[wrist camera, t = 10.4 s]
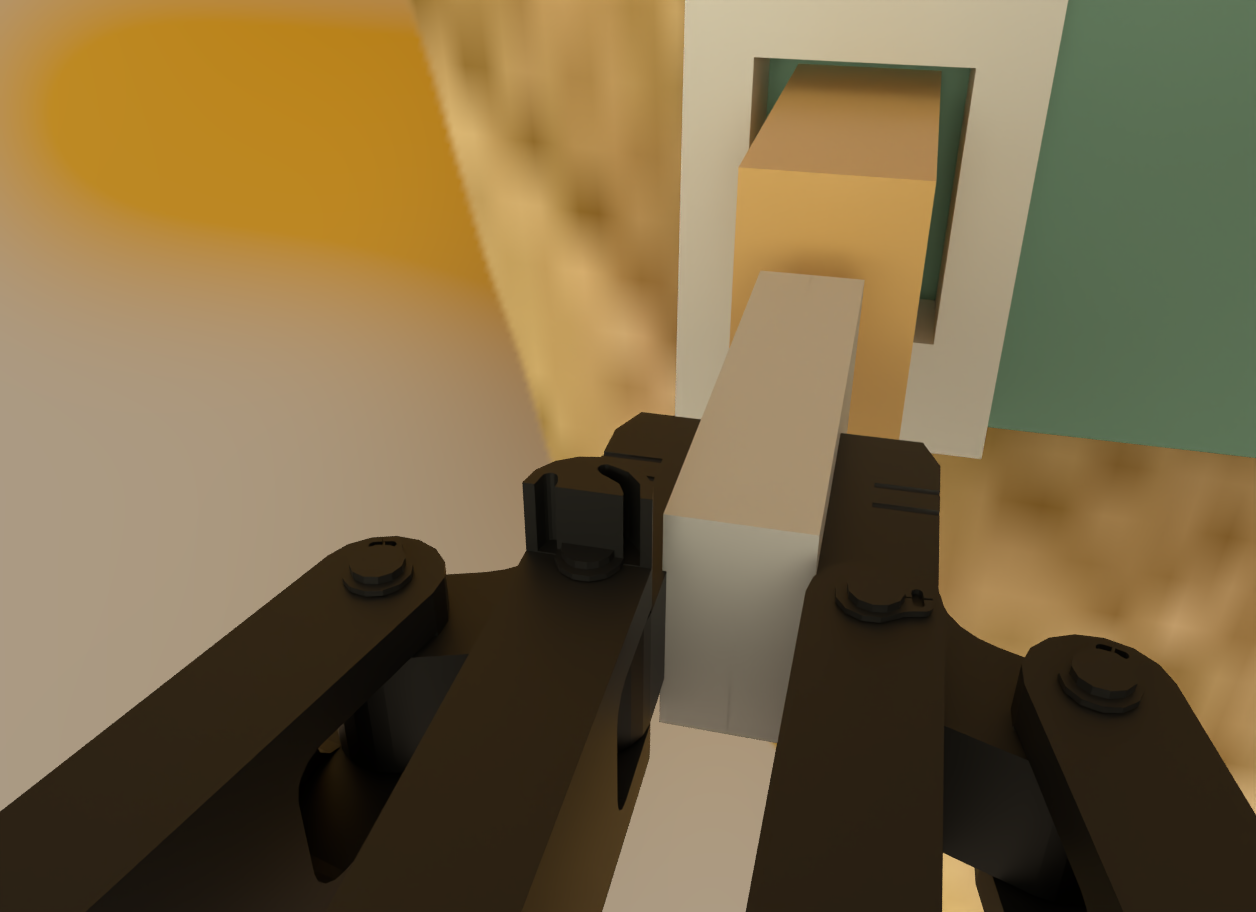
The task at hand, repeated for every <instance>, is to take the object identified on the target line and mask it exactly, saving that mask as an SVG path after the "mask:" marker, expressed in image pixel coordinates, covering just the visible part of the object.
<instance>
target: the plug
mask: <svg viewBox="0 0 1256 912" xmlns="http://www.w3.org/2000/svg"><path fill="white" fill-rule="evenodd" d="M940 93H941V71H934V70H914V69H895V68H875V67H855V66H836V65H816V64H798V65H797V67H796V69H795V71H794V72H793V74H792V76H791V77H790V79H789V81H788V83H787V84H786V86H785V88H784V90H783V91H782V93H781V95H780V96H779V98H778V100H777V102H776V103H775V105H774V107H773V109H772V110H771V112H770V114H769V115H768V117H767V119H766V121H765V122H764V124H763V126H762V128H761V129H760V131H759V133H758V134H757V136H756V138H755V140H754V141H753V143H752V145H751V146H750V148H749V150H748V152H747V153H746V155H745V157H744V159H743V160H742V162H741V164H740V165H739V167H738V186H737V205H736V225H735V244H734V264H733V283H732V303H731V322H730V342H729V348H730V346H731V343H732V341H733V338H734V336H735V333H736V331H737V328H738V326H739V323H740V321H741V318H742V316H743V313H744V311H745V308H746V306H747V303H748V301H749V298H750V295H751V293H752V290H753V288H754V285H755V283H756V280H757V278H758V275H759V273H760V270H761V271H772V272H783V273H794V274H805V275H817V276H828V277H839V278H850V279H861V280H865V281H864V290H863V299H862V307H861V316H860V325H859V333H858V342H857V350H856V359H855V368H854V376H853V385H852V394H851V402H850V411H849V420H848V428H847V434H854V435H863V436H871V437H880V438H888V439H897V440H899V437H900V430H901V423H902V416H903V409H904V402H905V395H906V389H907V382H908V375H909V368H910V361H911V354H912V347H913V340H914V333H915V326H916V319H917V312H918V305H919V298H920V291H921V285H922V278H923V271H924V264H925V257H926V250H927V243H928V236H929V229H930V222H931V215H932V208H933V201H934V194H935V187H936V179H937V157H938V136H939V114H940Z"/></svg>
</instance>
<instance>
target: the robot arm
mask: <svg viewBox="0 0 1256 912" xmlns="http://www.w3.org/2000/svg"><path fill="white" fill-rule="evenodd" d="M864 281H865V280H861V279H850V278H839V277H828V276H817V275H805V274H794V273H783V272H772V271H761V270H760V273H759V275H758V278H757V280H756V283H755V285H754V288H753V290H752V293H751V295H750V298H749V301H748V303H747V306H746V308H745V311H744V313H743V316H742V318H741V321H740V323H739V326H738V328H737V331H736V333H735V336H734V338H733V341H732V343H731V346H730V348H729V351H728V353H727V356H726V358H725V361H724V363H723V366H722V368H721V371H720V373H719V376H718V378H717V381H716V383H715V386H714V388H713V391H712V393H711V396H710V398H709V401H708V403H707V406H706V408H705V411H704V413H703V416H702V418H701V419H694V418H686V417H678V416H669V415H661V414H652V413H644V412H641V413H640V414H638V415H637V416H635V417H634V418H632V419H631V420H629V421H628V422H626V423H625V424H623V425H622V426H620V427H619V428H617V429H616V430H615V432H614V434H613V436H612V438H611V439H610V441H609V443H608V445H607V447H606V449H605V451H604V456H602V457H575V458H570V459H564V460H559V461H554V462H552V463H550V464H548V465H545V466H543V467H541V468H539V469H536V470H535V471H534V472H533V473H532V474H531V475H530V476H529V477H528V478H527V479H525V481H523V500H524V517H525V534H526V552H525V554H524V556H523V558H522V559H521V561H520V563H519V565H518V566H516V567H512V568H509V569H505V570H498V571H491V572H482V573H466V574H449V575H446V568H445V562H444V560H443V559H442V557H441V556H440V554H439V553H438V551H437V550H436V549H435V548H433V547H431V546H429V545H427V544H426V543H423V542H422V541H420V540H416V539H410V538H405V537H399V536H390V537H374V538H369V539H365V540H362V541H358V542H355V543H351V544H348V545H346V546H344V547H342V548H341V549H339V550H337V551H335V552H334V553H332V554H330V555H328V556H327V557H326V558H324V559H323V560H322V561H320V562H319V563H318V564H317V565H315V566H314V567H313V568H311V569H310V570H309V571H308V572H306V573H305V574H304V575H302V576H301V577H300V578H299V579H297V580H296V581H295V582H293V583H292V584H291V585H290V586H288V587H287V588H286V589H285V590H283V591H282V592H281V593H279V594H278V595H277V596H276V597H274V598H273V599H272V600H270V602H268V603H267V604H265V605H264V606H263V607H262V608H260V609H259V610H258V611H256V612H255V613H254V614H253V615H251V616H250V617H249V618H247V619H246V620H245V621H244V622H242V623H241V624H240V625H239V626H237V627H236V628H235V629H234V630H232V631H231V632H229V633H228V634H227V635H226V636H224V637H223V638H222V639H221V640H219V641H218V642H217V643H215V644H214V645H213V646H212V647H210V648H209V649H208V650H206V651H205V652H204V653H203V654H202V655H200V656H199V657H197V658H196V659H195V660H194V661H193V662H191V663H190V664H189V665H188V666H186V667H185V668H184V669H182V670H181V671H180V672H178V673H177V674H176V675H174V676H173V677H172V678H171V679H169V680H168V681H167V682H165V683H164V684H163V685H162V686H160V687H159V688H158V689H157V690H155V691H154V692H153V693H151V694H150V695H149V696H148V697H146V698H145V699H144V700H143V701H141V702H140V703H139V704H137V705H136V706H135V707H134V708H132V709H131V710H130V711H129V712H127V713H126V714H125V715H123V716H122V717H121V718H119V719H118V720H117V721H116V722H115V723H113V724H112V725H111V726H109V727H108V728H107V729H106V730H104V731H103V732H102V733H100V734H99V735H98V736H96V737H95V738H94V739H93V740H91V741H90V742H89V743H87V744H86V745H85V746H84V747H82V748H81V749H80V750H78V751H77V752H76V753H75V754H73V755H72V756H71V757H69V758H68V759H67V760H66V761H64V762H63V763H62V764H61V765H59V766H58V767H57V768H55V769H54V770H53V771H52V772H50V773H49V774H48V775H47V776H45V777H44V778H43V779H42V780H40V781H39V782H38V783H36V784H35V785H34V786H32V787H31V788H30V789H29V790H27V791H26V792H25V793H23V794H22V795H21V796H20V797H18V798H17V799H16V800H14V801H13V802H12V803H11V804H9V805H8V806H7V807H5V808H4V809H3V810H2V811H0V912H602V910H603V907H604V904H605V900H606V897H607V894H608V891H609V887H610V884H611V881H612V878H613V875H614V871H615V868H616V865H617V862H618V858H619V855H620V852H621V849H622V845H623V842H624V839H625V836H626V832H627V829H628V826H629V823H630V819H631V816H632V813H633V810H634V806H635V803H636V800H637V797H638V793H639V790H640V787H641V784H642V780H643V777H644V774H645V771H646V767H647V764H648V761H649V755H650V721H651V718H652V715H653V712H654V709H655V705H656V703H657V699H658V696H659V693H660V719H659V720H660V721H659V722H662V723H668V724H674V725H679V726H685V727H691V728H696V729H702V730H707V731H712V732H718V733H724V734H729V735H735V736H741V737H746V738H752V739H757V740H763V741H769V742H774V743H777V747H776V752H775V758H774V763H773V768H772V774H771V779H770V785H769V790H768V795H767V801H766V807H765V811H764V817H763V822H762V828H761V833H760V838H759V844H758V849H757V854H756V860H755V865H754V870H753V876H752V881H751V887H750V892H749V897H748V903H747V908H746V912H942V869H943V853H945V854H947V855H949V856H951V857H953V858H955V859H958V860H960V861H962V862H964V863H966V864H968V865H970V866H972V867H974V868H975V881H976V887H977V890H978V893H979V896H980V900H981V903H982V906H983V909H984V912H1256V814H1255V813H1254V811H1253V809H1252V808H1251V806H1250V805H1249V803H1248V801H1247V800H1246V798H1245V796H1244V795H1243V793H1242V791H1241V790H1240V788H1239V786H1238V785H1237V783H1236V781H1235V780H1234V778H1233V776H1232V775H1231V773H1230V771H1229V770H1228V768H1227V767H1226V765H1225V763H1224V762H1223V760H1222V758H1221V757H1220V755H1219V753H1218V752H1217V750H1216V748H1215V747H1214V745H1213V743H1212V742H1211V740H1210V738H1209V737H1208V735H1207V733H1206V732H1205V730H1204V729H1203V727H1202V725H1201V724H1200V722H1199V720H1198V719H1197V717H1196V715H1195V714H1194V712H1193V710H1192V709H1191V707H1190V705H1189V704H1188V702H1187V700H1186V699H1185V697H1184V695H1183V694H1182V692H1181V691H1180V689H1179V687H1178V686H1177V684H1176V683H1175V682H1174V681H1173V680H1172V678H1171V677H1170V676H1169V675H1168V674H1167V673H1166V672H1165V671H1164V669H1163V668H1162V667H1161V666H1160V665H1159V664H1157V663H1156V662H1154V661H1153V660H1151V659H1150V658H1148V657H1146V656H1145V655H1143V654H1142V653H1140V652H1138V651H1137V650H1135V649H1134V648H1131V647H1128V646H1125V645H1122V644H1120V643H1117V642H1114V641H1111V640H1108V639H1105V638H1100V637H1092V636H1084V635H1076V634H1074V635H1067V636H1059V637H1052V638H1048V639H1046V640H1044V641H1042V642H1040V643H1039V644H1037V645H1035V646H1033V647H1031V648H1030V649H1029V651H1028V653H1027V655H1026V657H1022V656H1019V655H1017V654H1014V653H1011V652H1008V651H1006V650H1003V649H1000V648H998V647H996V646H994V645H991V644H989V643H987V642H985V641H983V640H980V639H978V638H977V637H975V636H974V635H972V634H971V633H969V632H968V631H966V630H965V629H963V628H962V627H961V626H960V625H959V624H958V623H957V622H956V621H955V620H954V619H953V618H952V617H951V616H950V615H949V614H948V613H947V611H946V609H945V608H944V606H943V602H942V599H941V596H940V594H939V589H938V580H939V511H940V496H939V493H940V465H939V464H938V463H937V461H936V460H935V458H934V457H933V456H932V454H931V453H930V452H929V450H928V449H927V447H926V446H925V445H924V443H922V442H914V441H905V440H897V439H888V438H880V437H871V436H863V435H854V434H847V428H848V420H849V411H850V402H851V394H852V385H853V376H854V368H855V359H856V350H857V342H858V333H859V325H860V316H861V307H862V299H863V290H864Z"/></svg>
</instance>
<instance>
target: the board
mask: <svg viewBox="0 0 1256 912" xmlns="http://www.w3.org/2000/svg"><path fill="white" fill-rule="evenodd" d="M798 64H816V65H836V66H855V67H875V68H895V69H914V70H934V71H941V93H940V114H939V136H938V157H937V179H936V187H935V194H934V201H933V208H932V215H931V222H930V229H929V236H928V243H927V250H926V257H925V264H924V271H923V278H922V285H921V291H920V298H919V305H918V312H917V319H916V326H915V333H914V340H913V347H912V354H911V361H910V368H909V375H908V382H907V389H906V395H905V402H904V409H903V416H902V423H901V430H900V437H899V440H905V441H914V442H922V443H924V445H925V446H926V447H927V449H928V450H929V452H930V453H935V454H943V455H951V456H959V457H968V458H976V459H981V458H982V453H983V448H984V442H985V437H986V432H987V427H992V428H1000V429H1009V430H1018V431H1026V432H1035V433H1044V434H1052V435H1061V436H1070V437H1079V438H1087V439H1096V440H1105V441H1113V442H1122V443H1131V444H1139V445H1148V446H1157V447H1165V448H1174V449H1183V450H1191V451H1200V452H1209V453H1217V454H1226V455H1235V456H1243V457H1252V458H1256V0H685V26H684V67H683V108H682V150H681V191H680V232H679V273H678V315H677V356H676V397H675V416H678V417H686V418H694V419H701V418H702V416H703V413H704V411H705V408H706V406H707V403H708V401H709V398H710V396H711V393H712V391H713V388H714V386H715V383H716V381H717V378H718V376H719V373H720V371H721V368H722V366H723V363H724V361H725V358H726V356H727V353H728V351H729V342H730V322H731V303H732V283H733V264H734V244H735V225H736V205H737V186H738V167H739V165H740V164H741V162H742V160H743V159H744V157H745V155H746V153H747V152H748V150H749V148H750V146H751V145H752V143H753V141H754V140H755V138H756V136H757V134H758V133H759V131H760V129H761V128H762V126H763V124H764V122H765V121H766V119H767V117H768V115H769V114H770V112H771V110H772V109H773V107H774V105H775V103H776V102H777V100H778V98H779V96H780V95H781V93H782V91H783V90H784V88H785V86H786V84H787V83H788V81H789V79H790V77H791V76H792V74H793V72H794V71H795V69H796V67H797V65H798Z"/></svg>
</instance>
